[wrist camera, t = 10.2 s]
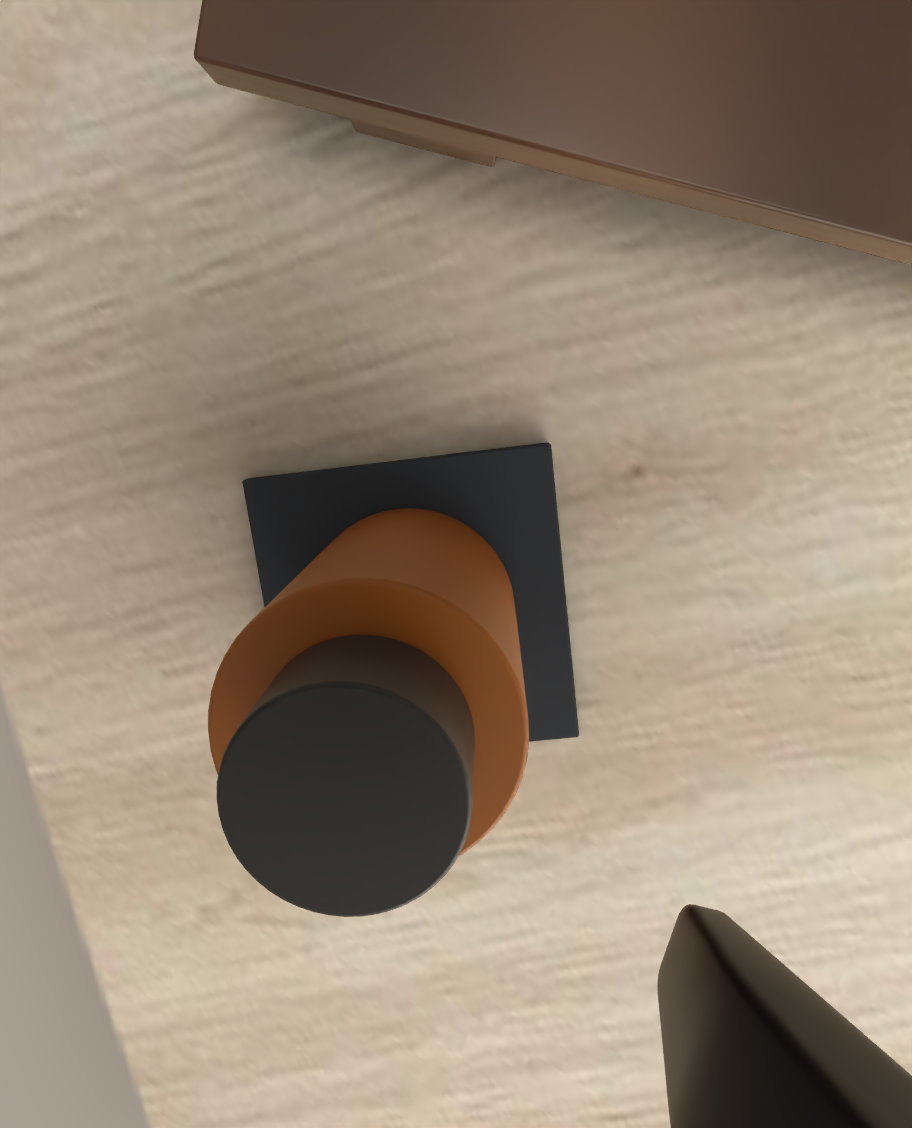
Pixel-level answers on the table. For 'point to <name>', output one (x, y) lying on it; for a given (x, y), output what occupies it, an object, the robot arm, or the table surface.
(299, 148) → the table surface
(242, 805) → the spice bottle
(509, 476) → the coaster
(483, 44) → the shelf
